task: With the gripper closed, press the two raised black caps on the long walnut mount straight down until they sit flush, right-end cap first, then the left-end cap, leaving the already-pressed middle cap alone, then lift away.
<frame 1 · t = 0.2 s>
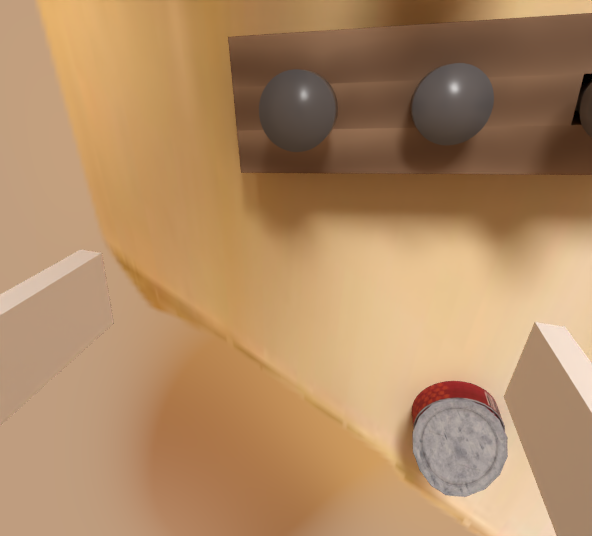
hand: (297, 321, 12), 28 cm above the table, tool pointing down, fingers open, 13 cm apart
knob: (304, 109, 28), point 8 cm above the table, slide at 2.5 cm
canned food: (453, 410, 47), on the table
knob middle: (445, 103, 28), point 5 cm above the table, slide at 0.0 cm
mount: (436, 99, 33), on the table
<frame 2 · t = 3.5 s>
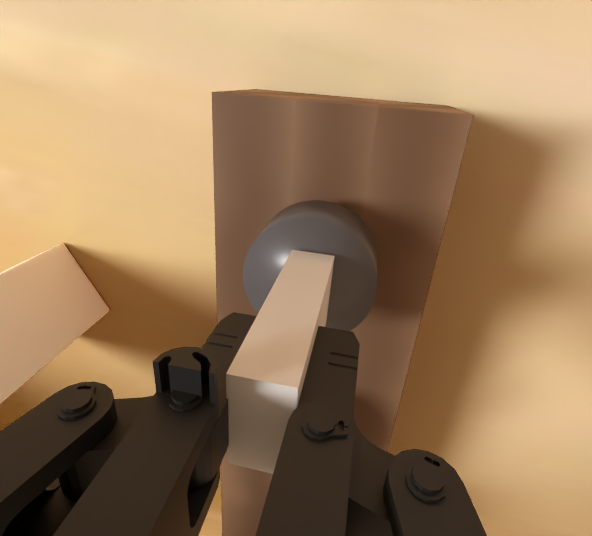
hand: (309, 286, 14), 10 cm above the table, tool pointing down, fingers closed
milk: (62, 287, 30), on the table
knob middle: (305, 401, 23), point 5 cm above the table, slide at 0.0 cm
mount: (318, 345, 27), on the table
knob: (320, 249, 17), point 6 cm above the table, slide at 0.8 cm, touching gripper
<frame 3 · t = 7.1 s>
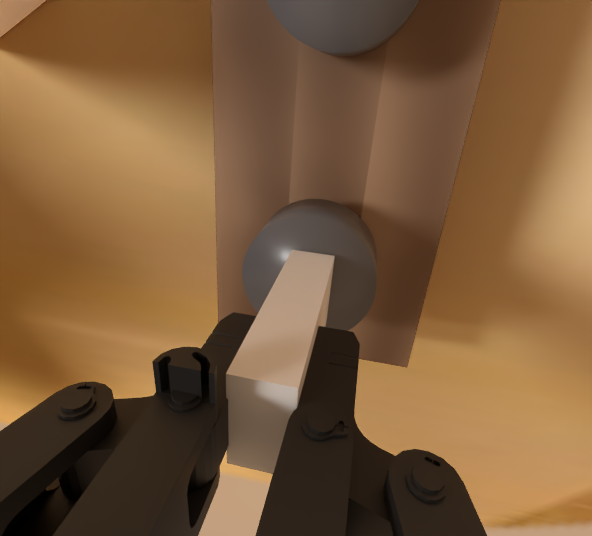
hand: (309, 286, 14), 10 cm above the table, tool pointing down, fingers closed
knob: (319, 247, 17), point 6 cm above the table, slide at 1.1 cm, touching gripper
mount: (358, 3, 18), on the table
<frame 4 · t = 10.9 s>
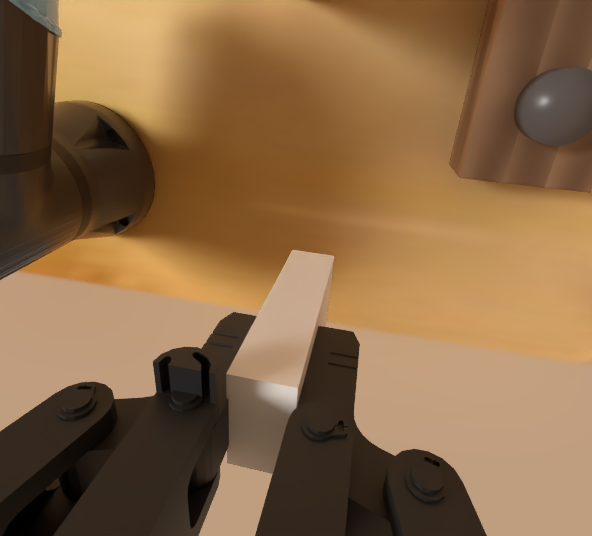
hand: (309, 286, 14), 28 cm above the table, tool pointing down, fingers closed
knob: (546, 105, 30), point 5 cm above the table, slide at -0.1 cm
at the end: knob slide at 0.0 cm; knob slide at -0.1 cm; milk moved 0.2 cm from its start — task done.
